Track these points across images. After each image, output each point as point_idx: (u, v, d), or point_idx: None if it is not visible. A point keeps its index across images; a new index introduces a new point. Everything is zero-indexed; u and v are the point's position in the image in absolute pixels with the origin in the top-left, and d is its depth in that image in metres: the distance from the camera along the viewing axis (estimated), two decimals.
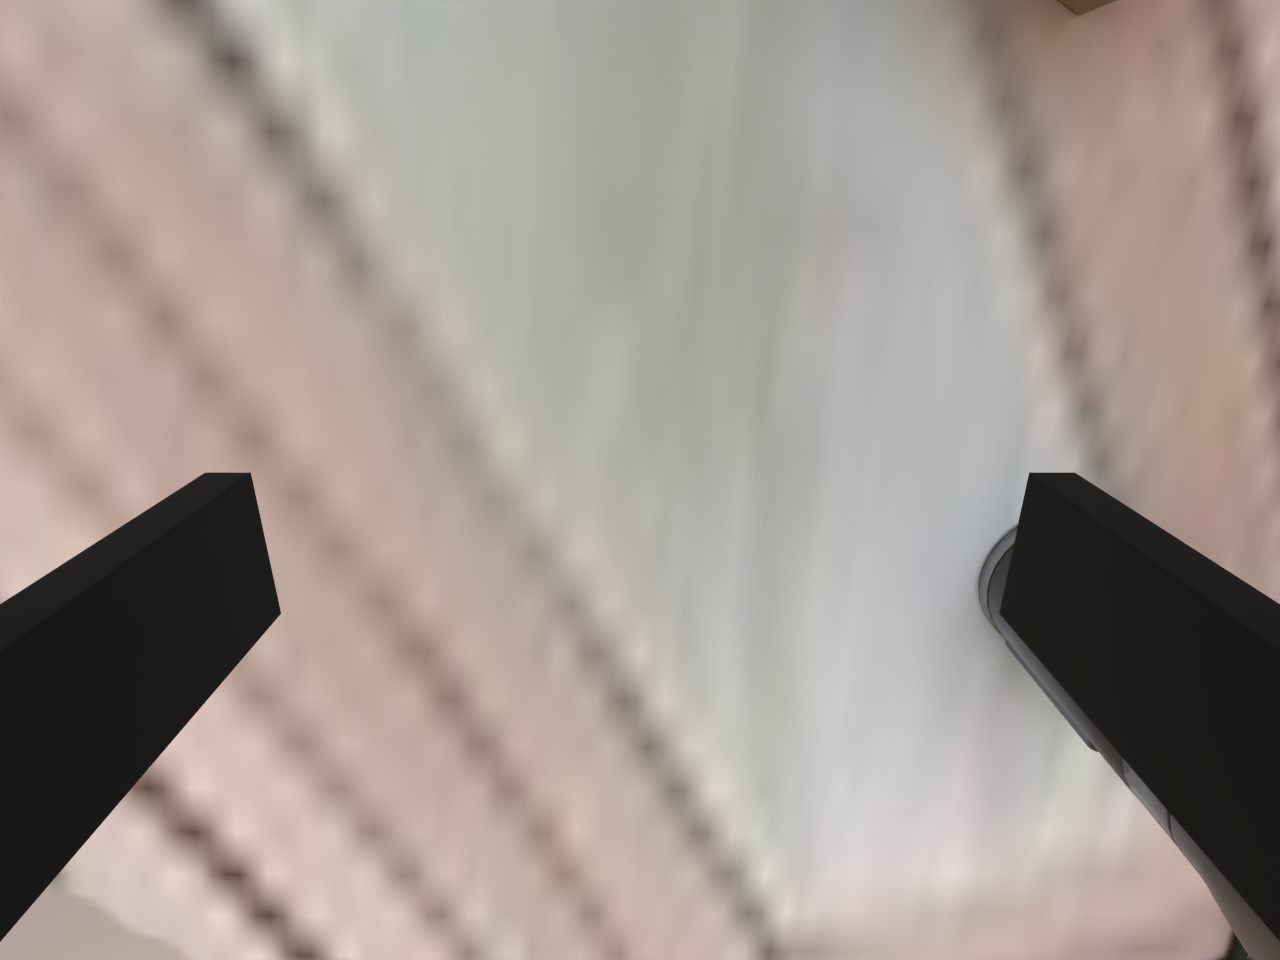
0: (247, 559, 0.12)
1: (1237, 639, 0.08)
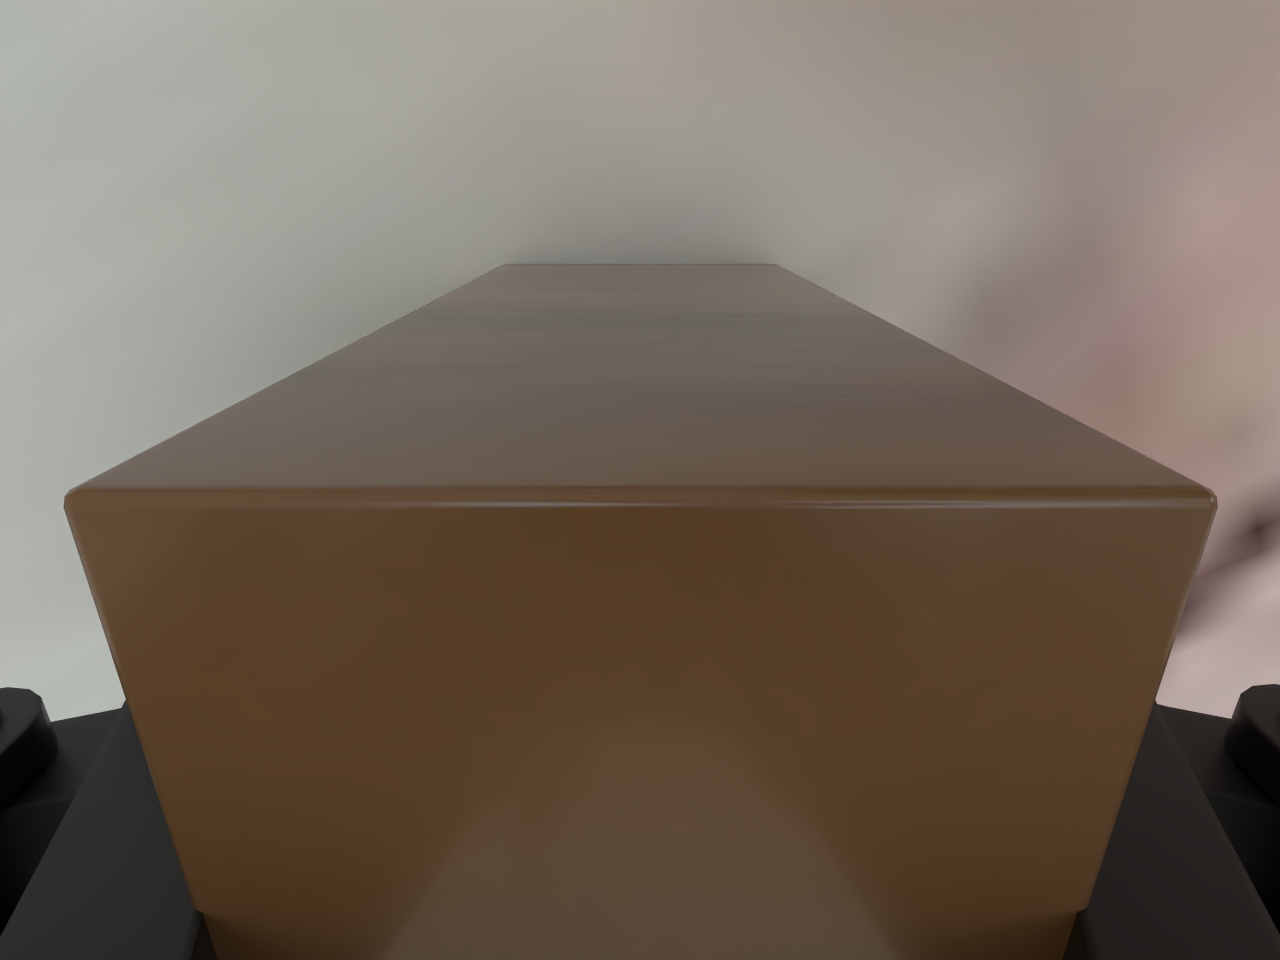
0: None
1: None
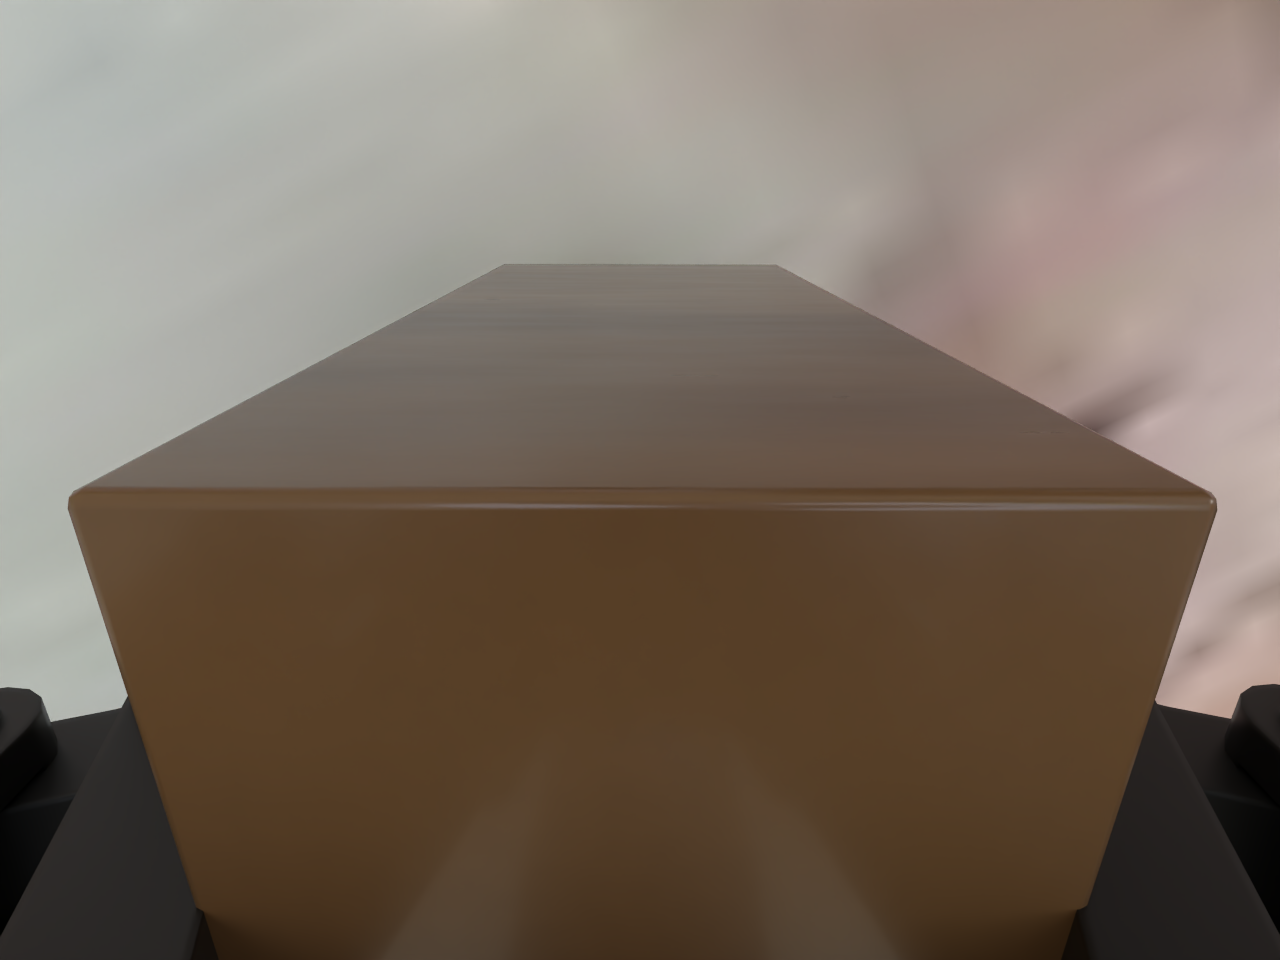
0: None
1: None
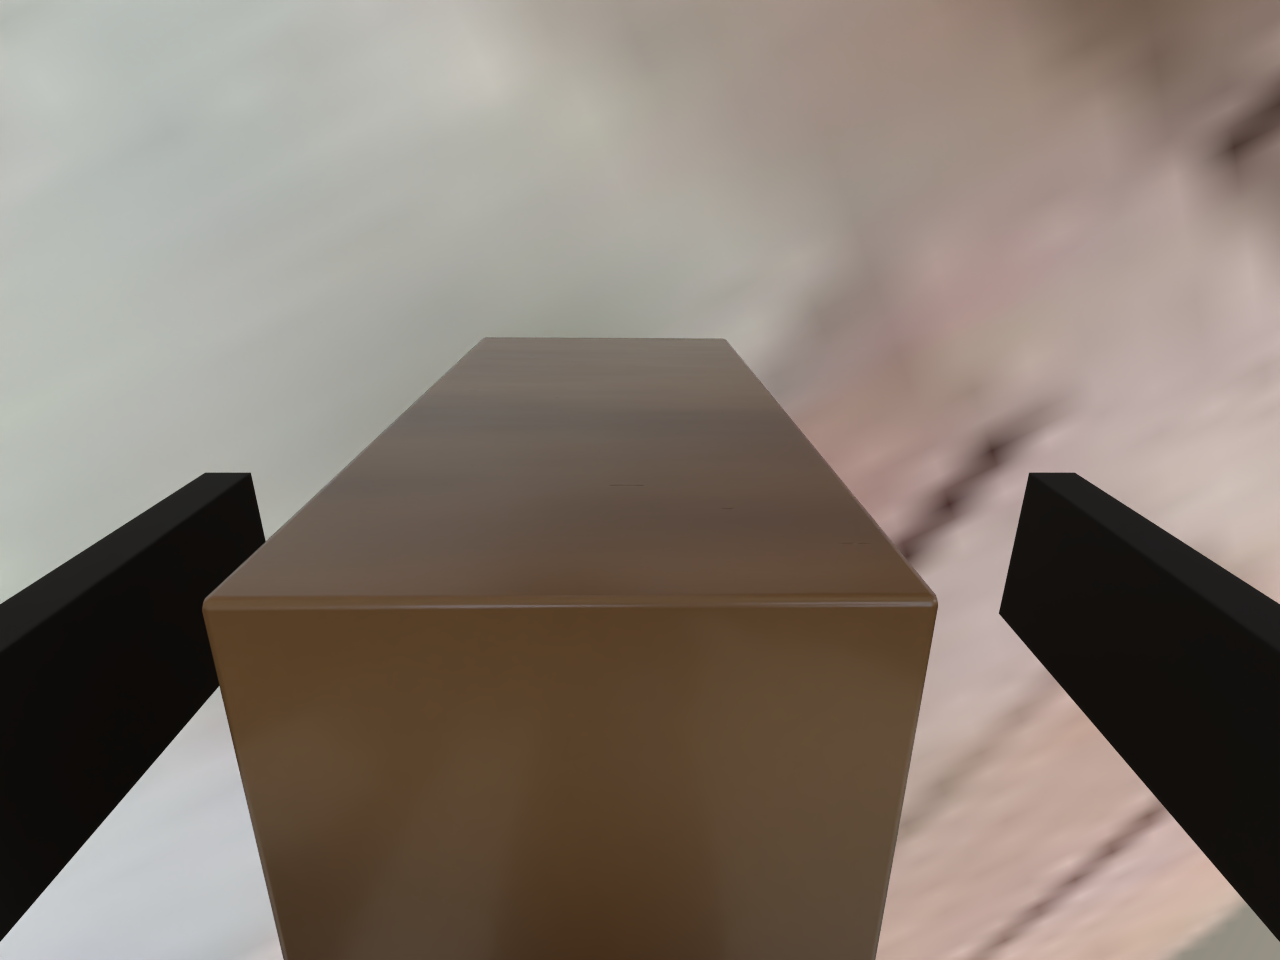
0: None
1: (1237, 639, 0.08)
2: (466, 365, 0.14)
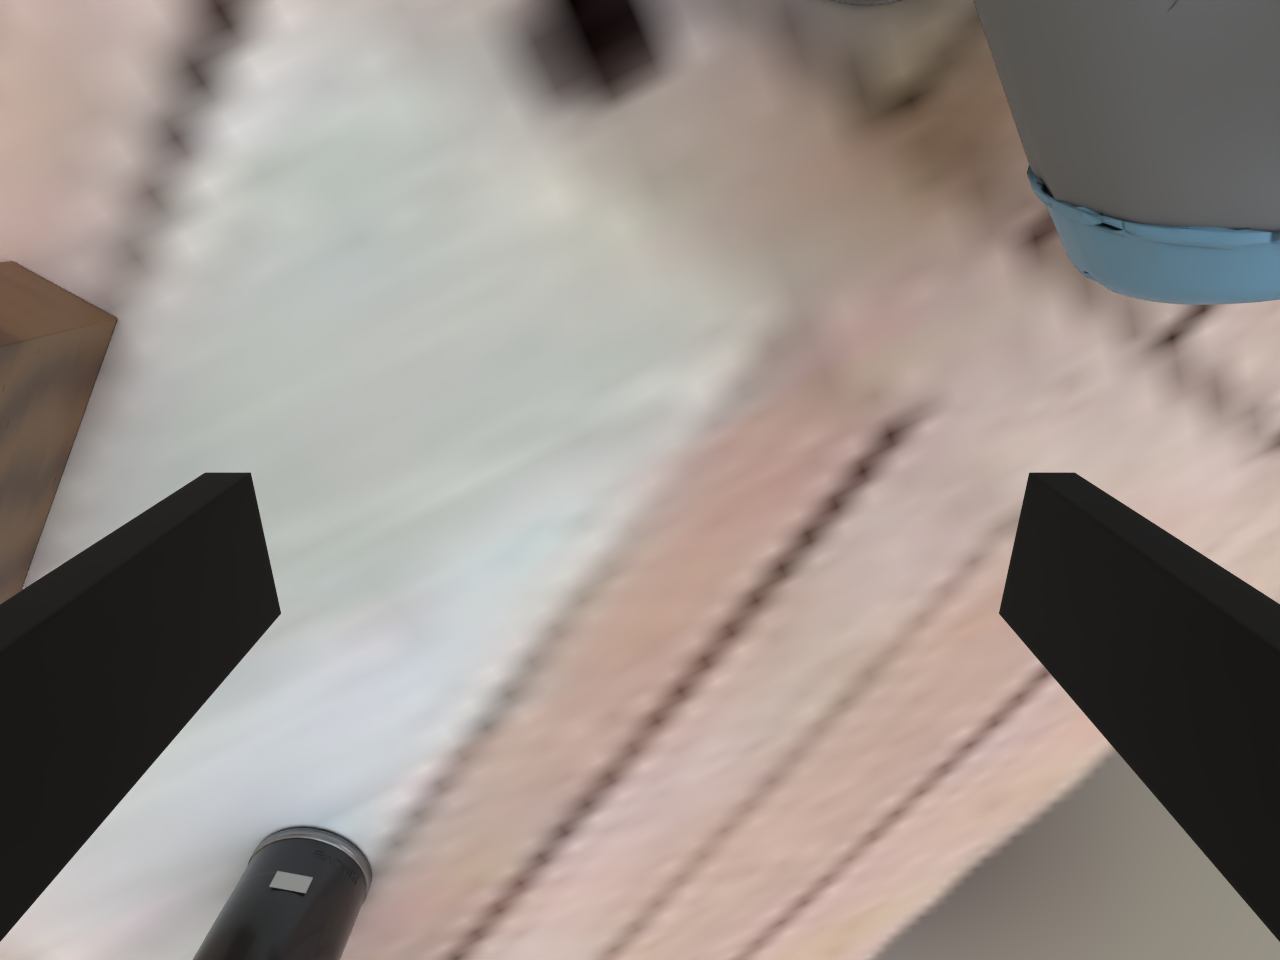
0: (247, 559, 0.12)
1: (1237, 639, 0.08)
2: None
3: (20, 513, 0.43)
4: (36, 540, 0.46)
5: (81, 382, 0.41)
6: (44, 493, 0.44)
